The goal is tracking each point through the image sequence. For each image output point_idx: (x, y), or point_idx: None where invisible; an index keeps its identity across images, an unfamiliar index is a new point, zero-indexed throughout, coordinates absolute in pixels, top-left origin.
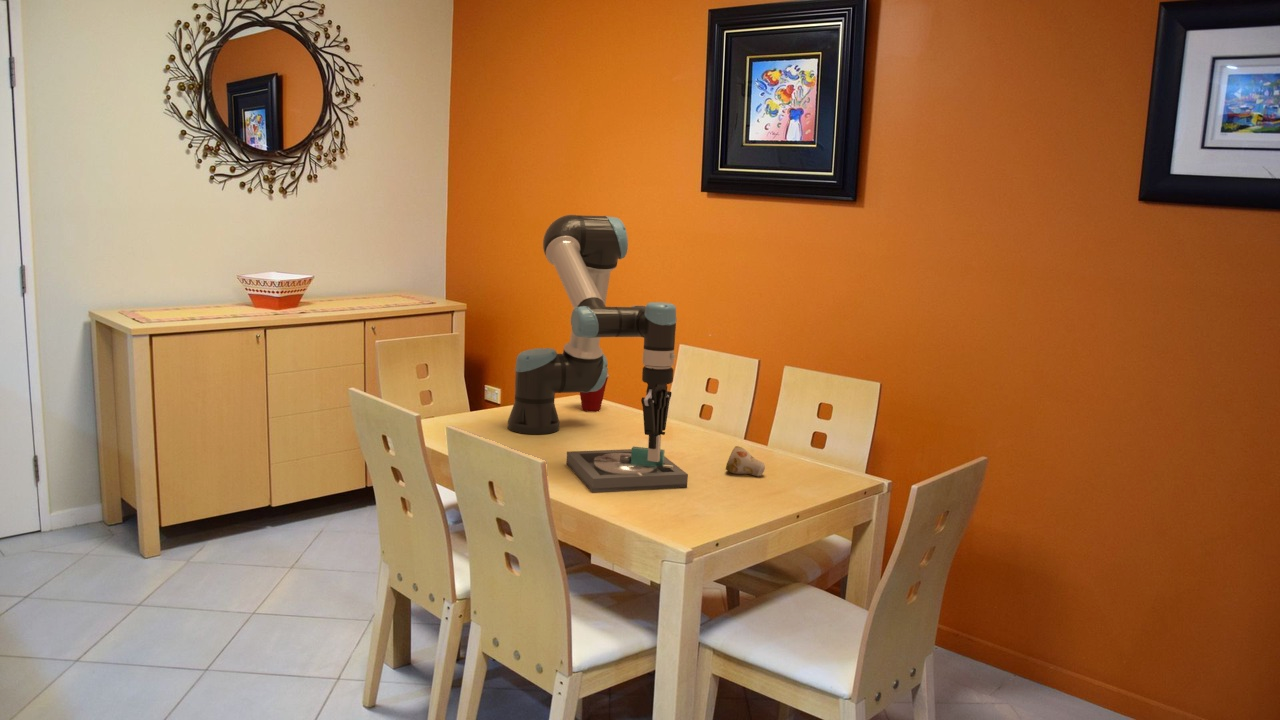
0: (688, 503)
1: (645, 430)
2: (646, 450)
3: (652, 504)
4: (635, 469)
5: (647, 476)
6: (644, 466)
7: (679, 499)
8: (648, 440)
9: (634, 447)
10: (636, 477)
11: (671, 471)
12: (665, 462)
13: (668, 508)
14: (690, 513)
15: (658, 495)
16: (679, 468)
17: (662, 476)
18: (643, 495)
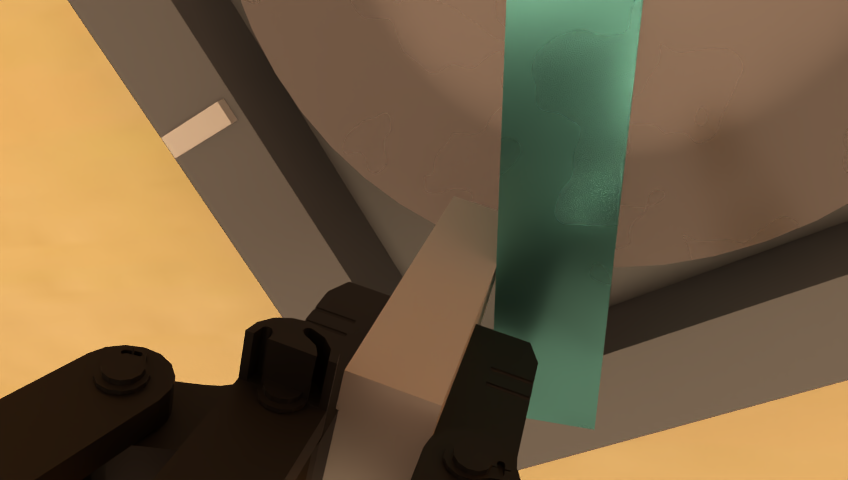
0: None
1: (49, 394)
2: (499, 212)
3: (10, 227)
4: (312, 66)
5: (205, 199)
6: (459, 143)
7: (180, 376)
8: (378, 316)
9: (579, 21)
10: (145, 104)
11: None
12: (747, 335)
13: (3, 318)
14: None
15: (188, 250)
16: (556, 451)
17: (288, 314)
18: (135, 150)
